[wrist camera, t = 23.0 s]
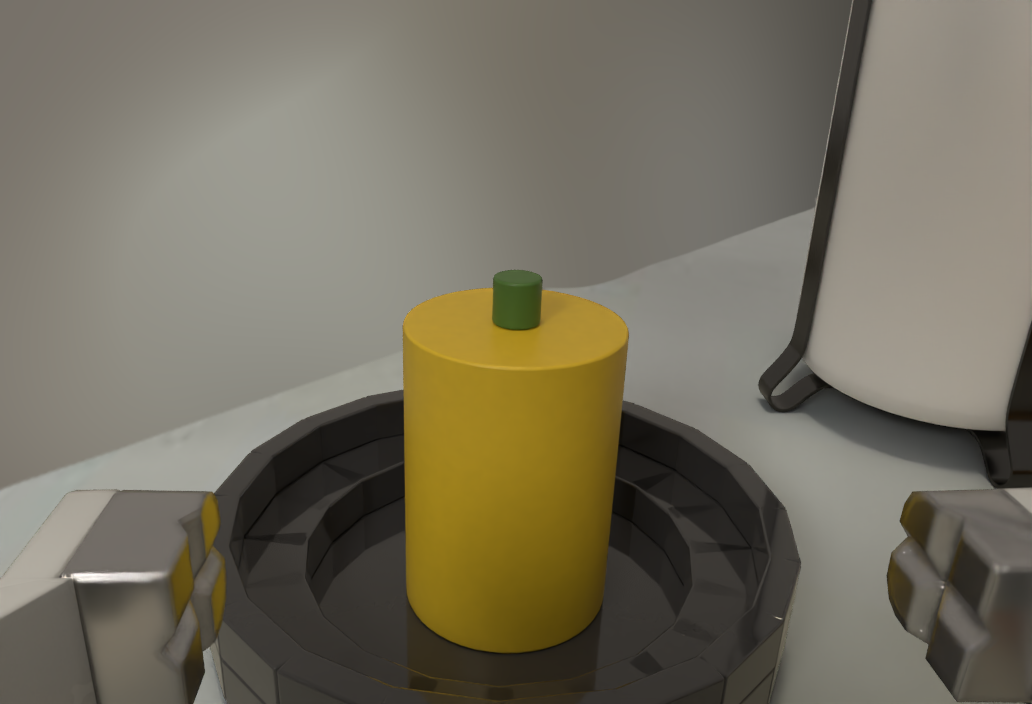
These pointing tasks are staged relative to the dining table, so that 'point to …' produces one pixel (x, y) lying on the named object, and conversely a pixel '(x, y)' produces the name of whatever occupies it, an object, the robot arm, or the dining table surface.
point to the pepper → (510, 461)
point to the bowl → (478, 674)
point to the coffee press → (926, 227)
